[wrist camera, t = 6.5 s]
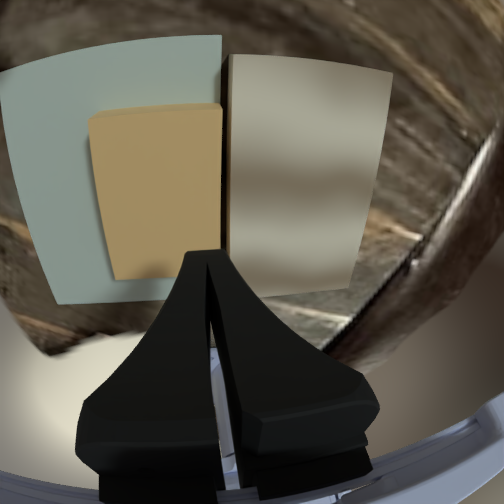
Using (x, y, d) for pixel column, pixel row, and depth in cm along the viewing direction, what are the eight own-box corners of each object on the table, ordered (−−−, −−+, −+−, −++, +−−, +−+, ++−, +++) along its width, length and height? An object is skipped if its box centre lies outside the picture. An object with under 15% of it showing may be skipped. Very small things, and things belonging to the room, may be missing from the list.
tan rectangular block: (217, 253, 20) (220, 274, 18) (120, 258, 19) (115, 279, 17) (219, 102, 14) (222, 109, 13) (99, 111, 13) (87, 119, 12)
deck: (337, 269, 23) (347, 287, 21) (226, 279, 22) (230, 299, 20) (373, 69, 15) (393, 73, 13) (228, 54, 13) (233, 54, 12)
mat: (220, 290, 22) (221, 295, 22) (59, 299, 20) (57, 304, 20) (221, 35, 13) (221, 34, 12) (2, 72, 11) (-2, 73, 10)
